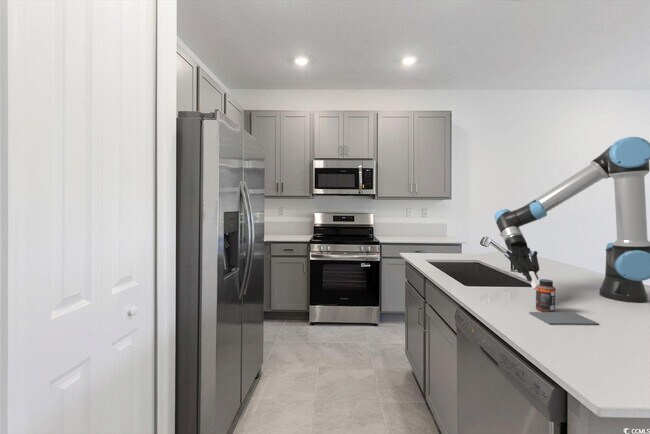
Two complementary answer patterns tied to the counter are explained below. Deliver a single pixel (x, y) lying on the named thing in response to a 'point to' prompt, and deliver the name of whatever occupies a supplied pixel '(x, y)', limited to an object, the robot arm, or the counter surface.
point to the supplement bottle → (545, 296)
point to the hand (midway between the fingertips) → (536, 287)
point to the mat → (563, 318)
